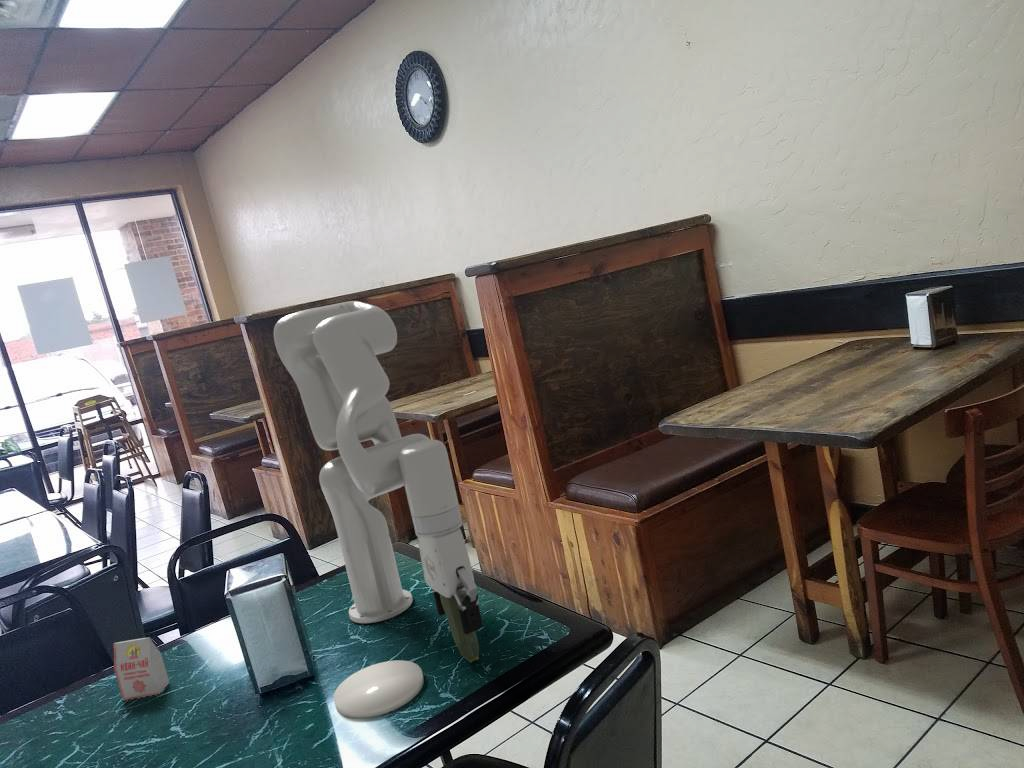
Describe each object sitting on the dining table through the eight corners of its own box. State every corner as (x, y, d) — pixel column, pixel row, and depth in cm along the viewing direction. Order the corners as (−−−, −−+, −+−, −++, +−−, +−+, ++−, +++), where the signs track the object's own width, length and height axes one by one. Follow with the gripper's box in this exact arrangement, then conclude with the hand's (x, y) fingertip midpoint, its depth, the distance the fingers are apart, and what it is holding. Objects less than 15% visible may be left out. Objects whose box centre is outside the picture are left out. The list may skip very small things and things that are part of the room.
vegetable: (479, 670, 123) (452, 551, 120) (453, 672, 124) (426, 554, 121) (485, 655, 127) (459, 540, 124) (460, 657, 128) (434, 543, 125)
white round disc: (324, 692, 126) (323, 686, 125) (404, 657, 132) (403, 651, 132) (350, 730, 113) (349, 722, 113) (437, 689, 120) (436, 682, 120)
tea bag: (134, 689, 141) (119, 638, 139) (169, 683, 140) (154, 632, 139) (123, 700, 137) (107, 648, 136) (159, 694, 137) (144, 642, 135)
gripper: (395, 517, 128) (418, 614, 130) (437, 539, 112) (462, 648, 115) (437, 502, 131) (458, 597, 134) (483, 522, 116) (506, 628, 118)
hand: (460, 620), depth 124 cm, fingers open, 9 cm apart
